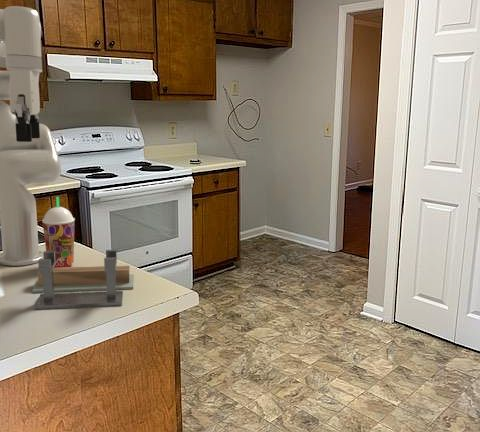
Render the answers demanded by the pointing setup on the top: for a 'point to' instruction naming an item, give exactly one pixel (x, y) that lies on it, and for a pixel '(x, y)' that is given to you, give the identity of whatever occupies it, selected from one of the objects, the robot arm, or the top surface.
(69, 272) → the rail
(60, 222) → the smoothie
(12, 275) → the top surface
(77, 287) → the mat
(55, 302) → the stand
